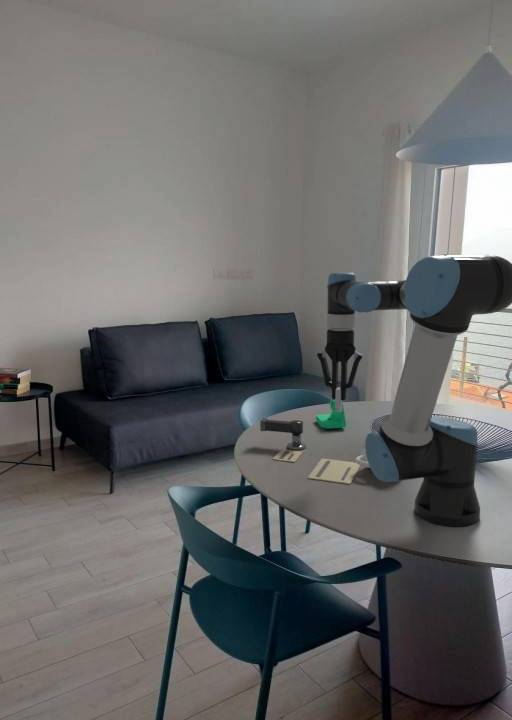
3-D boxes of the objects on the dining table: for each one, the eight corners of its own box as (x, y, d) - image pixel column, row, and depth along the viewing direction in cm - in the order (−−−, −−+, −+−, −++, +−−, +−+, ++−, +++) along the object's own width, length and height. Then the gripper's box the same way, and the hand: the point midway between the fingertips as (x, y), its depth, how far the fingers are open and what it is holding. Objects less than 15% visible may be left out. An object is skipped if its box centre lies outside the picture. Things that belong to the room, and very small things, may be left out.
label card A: (294, 462, 176) (294, 461, 176) (272, 459, 178) (272, 458, 178) (302, 452, 184) (303, 451, 184) (281, 450, 186) (281, 449, 186)
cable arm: (303, 431, 190) (304, 420, 189) (301, 434, 186) (301, 424, 185) (263, 427, 193) (263, 417, 193) (260, 431, 190) (259, 420, 189)
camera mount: (315, 421, 217) (315, 394, 215) (334, 420, 219) (335, 393, 217) (325, 431, 206) (325, 403, 204) (345, 430, 207) (346, 402, 205)
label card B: (350, 484, 159) (350, 483, 159) (307, 478, 164) (307, 477, 163) (361, 464, 174) (361, 462, 174) (321, 459, 178) (321, 458, 178)
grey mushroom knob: (302, 451, 185) (302, 437, 185) (284, 448, 188) (284, 435, 187) (307, 445, 191) (308, 431, 190) (290, 443, 193) (290, 429, 192)
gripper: (366, 328, 164) (363, 409, 168) (320, 326, 168) (319, 405, 172) (361, 331, 157) (359, 416, 161) (314, 329, 161) (313, 412, 165)
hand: (338, 410), depth 167 cm, fingers closed
